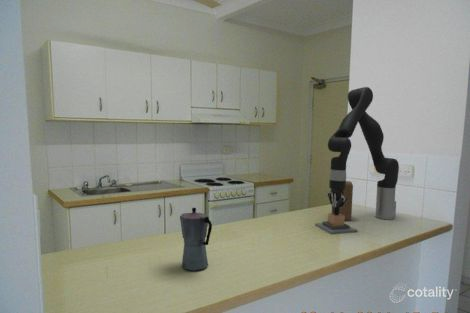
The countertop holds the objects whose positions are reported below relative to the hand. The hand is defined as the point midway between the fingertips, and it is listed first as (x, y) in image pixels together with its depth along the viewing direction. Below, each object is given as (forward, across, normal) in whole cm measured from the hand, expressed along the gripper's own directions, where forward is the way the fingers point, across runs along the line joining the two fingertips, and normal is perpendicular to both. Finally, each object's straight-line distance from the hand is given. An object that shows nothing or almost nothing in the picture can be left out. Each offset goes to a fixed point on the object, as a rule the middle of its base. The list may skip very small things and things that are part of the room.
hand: (336, 214), depth 151 cm
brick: (+6, 0, 0) cm, 6 cm away
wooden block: (+7, +16, -14) cm, 23 cm away
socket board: (+7, 0, 0) cm, 7 cm away
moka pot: (+7, -27, +72) cm, 77 cm away
